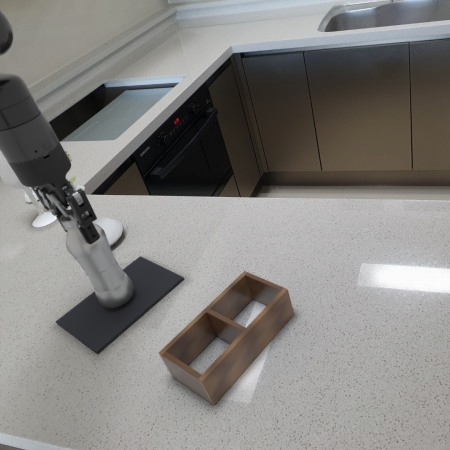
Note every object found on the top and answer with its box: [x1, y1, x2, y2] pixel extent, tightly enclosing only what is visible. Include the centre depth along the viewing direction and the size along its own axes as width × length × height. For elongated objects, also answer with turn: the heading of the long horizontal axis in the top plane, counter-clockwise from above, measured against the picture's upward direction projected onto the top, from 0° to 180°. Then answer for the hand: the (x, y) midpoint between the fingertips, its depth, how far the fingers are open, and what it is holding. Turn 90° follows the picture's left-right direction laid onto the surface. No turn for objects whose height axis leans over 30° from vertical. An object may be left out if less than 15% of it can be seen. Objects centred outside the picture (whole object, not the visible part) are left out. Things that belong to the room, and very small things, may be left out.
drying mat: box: [55, 255, 185, 355], centre depth 87 cm, size 20×14×1 cm
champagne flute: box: [0, 151, 58, 228], centre depth 110 cm, size 7×7×24 cm
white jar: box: [24, 187, 40, 203], centre depth 126 cm, size 5×3×5 cm
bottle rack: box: [158, 270, 295, 406], centre depth 73 cm, size 19×10×6 cm, turn 143°
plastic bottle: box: [60, 214, 134, 308], centre depth 81 cm, size 6×7×20 cm
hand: (83, 235), depth 78 cm, fingers open, 6 cm apart
